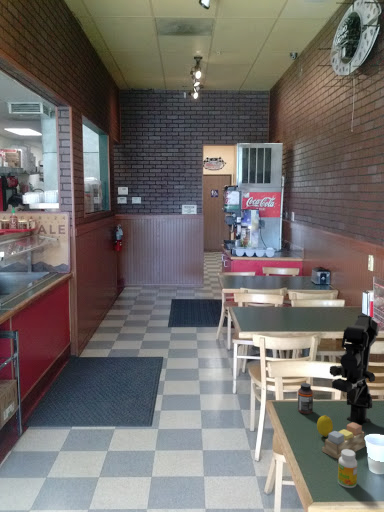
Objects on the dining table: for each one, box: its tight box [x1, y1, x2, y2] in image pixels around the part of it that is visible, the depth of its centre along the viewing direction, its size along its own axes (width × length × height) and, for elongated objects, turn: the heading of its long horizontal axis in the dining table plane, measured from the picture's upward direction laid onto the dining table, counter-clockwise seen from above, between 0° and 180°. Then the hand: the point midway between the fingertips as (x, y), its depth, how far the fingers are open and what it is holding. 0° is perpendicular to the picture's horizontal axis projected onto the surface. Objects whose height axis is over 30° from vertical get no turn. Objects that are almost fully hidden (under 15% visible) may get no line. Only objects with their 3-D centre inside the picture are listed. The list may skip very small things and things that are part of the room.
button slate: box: [327, 430, 344, 445], centre depth 158 cm, size 4×4×4 cm
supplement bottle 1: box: [297, 382, 314, 415], centre depth 190 cm, size 6×6×11 cm
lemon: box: [316, 414, 334, 438], centre depth 169 cm, size 6×6×8 cm
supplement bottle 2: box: [337, 449, 358, 489], centre depth 141 cm, size 5×5×10 cm
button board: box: [321, 430, 366, 461], centre depth 161 cm, size 16×7×4 cm, turn 128°
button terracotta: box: [345, 421, 363, 436], centre depth 164 cm, size 4×4×4 cm
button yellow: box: [338, 428, 353, 440], centre depth 161 cm, size 4×4×4 cm
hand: (352, 403), depth 170 cm, fingers closed
